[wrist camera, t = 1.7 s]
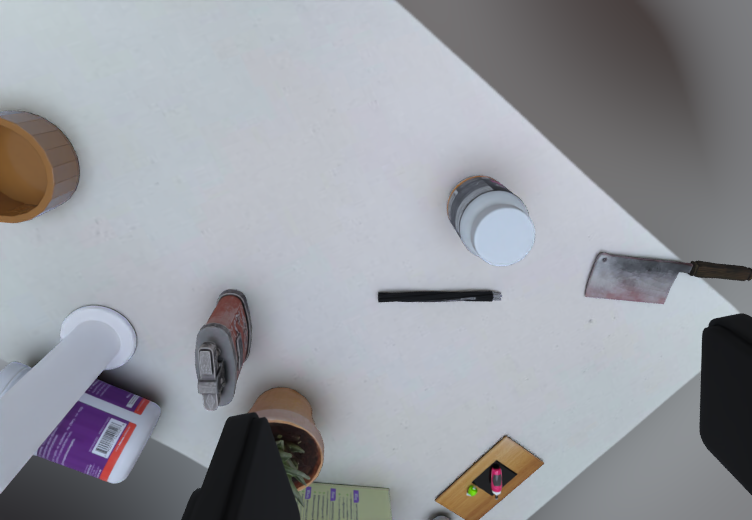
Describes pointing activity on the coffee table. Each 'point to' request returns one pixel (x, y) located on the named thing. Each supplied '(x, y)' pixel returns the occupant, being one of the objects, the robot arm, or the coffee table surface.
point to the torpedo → (441, 518)
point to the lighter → (223, 349)
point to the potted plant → (293, 435)
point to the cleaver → (650, 277)
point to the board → (489, 480)
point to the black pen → (438, 296)
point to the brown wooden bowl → (33, 167)
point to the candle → (60, 382)
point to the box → (344, 503)
